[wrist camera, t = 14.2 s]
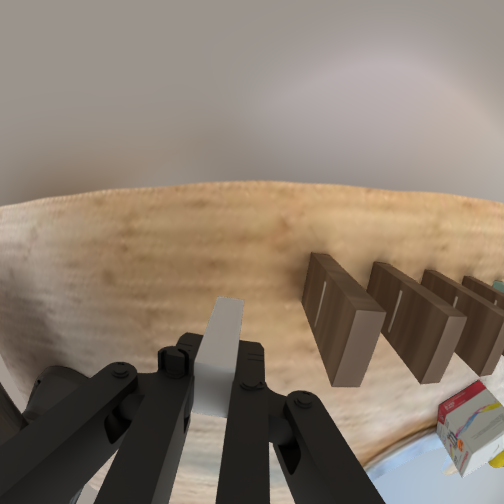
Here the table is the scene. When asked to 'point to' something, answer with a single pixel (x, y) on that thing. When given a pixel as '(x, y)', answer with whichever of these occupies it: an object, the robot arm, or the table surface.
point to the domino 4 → (484, 291)
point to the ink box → (471, 427)
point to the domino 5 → (499, 286)
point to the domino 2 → (416, 322)
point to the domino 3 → (472, 323)
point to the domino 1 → (341, 320)
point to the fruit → (497, 460)
